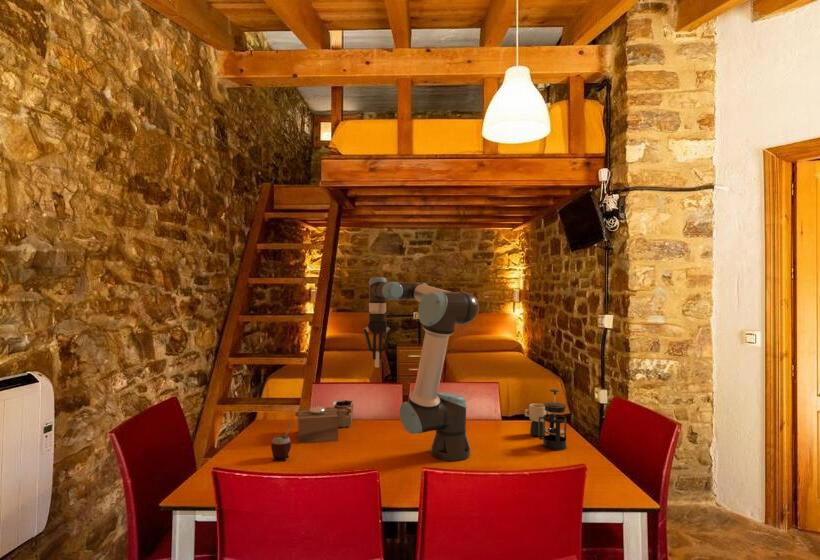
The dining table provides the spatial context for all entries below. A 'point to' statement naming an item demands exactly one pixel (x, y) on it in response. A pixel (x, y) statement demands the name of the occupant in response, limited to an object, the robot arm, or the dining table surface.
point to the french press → (554, 438)
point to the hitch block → (317, 426)
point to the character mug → (536, 417)
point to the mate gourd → (281, 446)
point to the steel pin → (317, 410)
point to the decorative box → (344, 412)
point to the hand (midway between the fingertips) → (376, 366)
